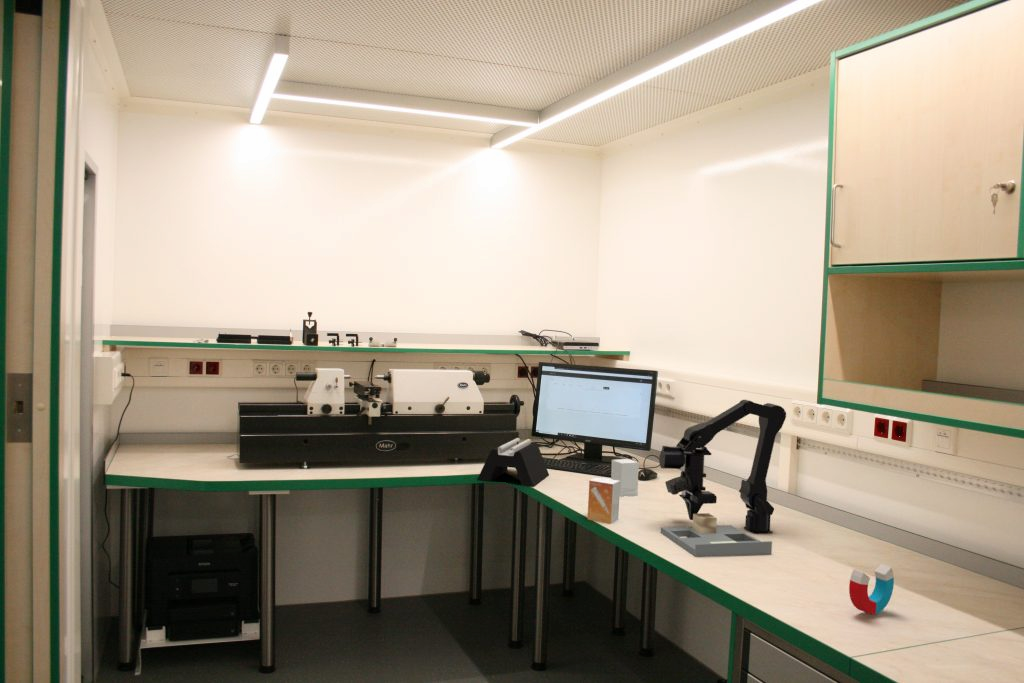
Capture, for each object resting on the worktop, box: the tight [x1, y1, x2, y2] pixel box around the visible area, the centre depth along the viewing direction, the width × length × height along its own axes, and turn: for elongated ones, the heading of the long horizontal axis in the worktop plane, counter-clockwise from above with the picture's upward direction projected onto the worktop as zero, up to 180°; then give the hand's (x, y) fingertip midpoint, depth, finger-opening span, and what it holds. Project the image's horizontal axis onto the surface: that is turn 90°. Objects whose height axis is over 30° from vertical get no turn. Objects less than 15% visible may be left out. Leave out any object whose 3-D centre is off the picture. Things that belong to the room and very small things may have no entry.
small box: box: [587, 477, 620, 525], centre depth 237 cm, size 8×6×13 cm
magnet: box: [848, 563, 895, 615], centre depth 169 cm, size 12×3×10 cm, turn 118°
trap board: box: [660, 524, 773, 558], centre depth 218 cm, size 22×23×4 cm
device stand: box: [476, 437, 550, 488], centre depth 290 cm, size 22×22×15 cm
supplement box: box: [610, 458, 640, 498], centre depth 273 cm, size 7×7×13 cm
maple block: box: [692, 512, 718, 534], centre depth 223 cm, size 5×5×4 cm
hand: (691, 519), depth 231 cm, fingers closed
